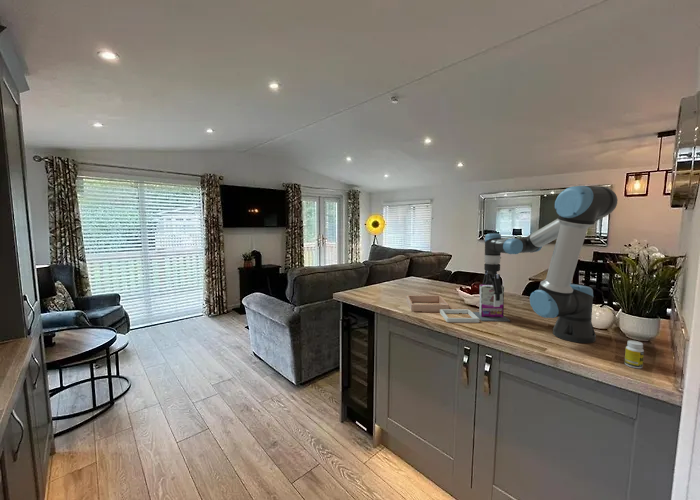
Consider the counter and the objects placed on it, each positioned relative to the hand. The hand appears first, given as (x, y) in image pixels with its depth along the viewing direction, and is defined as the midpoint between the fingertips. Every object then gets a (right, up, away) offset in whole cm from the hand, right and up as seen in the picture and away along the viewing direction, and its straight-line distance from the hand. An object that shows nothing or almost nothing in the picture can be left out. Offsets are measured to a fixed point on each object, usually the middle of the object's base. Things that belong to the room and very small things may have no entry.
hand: (491, 303), depth 162 cm
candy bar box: (0, -7, +1) cm, 7 cm away
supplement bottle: (+25, -13, -54) cm, 61 cm away
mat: (0, -8, +1) cm, 8 cm away
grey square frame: (-17, -8, +1) cm, 19 cm away
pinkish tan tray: (-29, -6, +23) cm, 37 cm away
